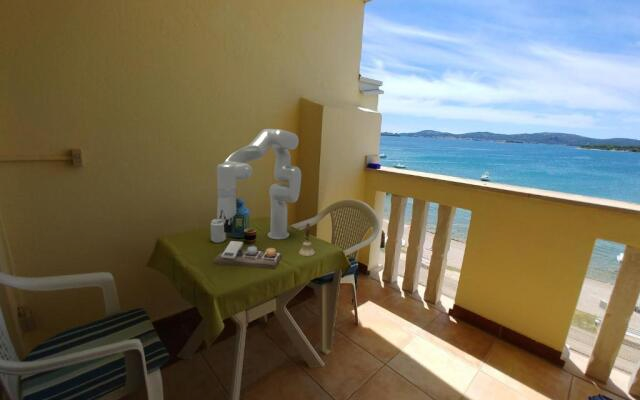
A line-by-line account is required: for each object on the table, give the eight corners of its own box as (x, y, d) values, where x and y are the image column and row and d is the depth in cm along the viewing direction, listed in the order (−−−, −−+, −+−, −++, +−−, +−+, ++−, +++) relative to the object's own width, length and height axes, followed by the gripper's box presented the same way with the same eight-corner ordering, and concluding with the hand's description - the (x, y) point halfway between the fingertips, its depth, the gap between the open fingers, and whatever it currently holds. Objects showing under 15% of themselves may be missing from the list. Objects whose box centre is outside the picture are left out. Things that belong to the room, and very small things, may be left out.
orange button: (267, 252, 126) (267, 247, 125) (276, 252, 125) (276, 248, 125) (264, 256, 121) (264, 251, 121) (274, 256, 121) (274, 252, 120)
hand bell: (295, 253, 135) (296, 223, 131) (305, 248, 142) (306, 220, 138) (308, 257, 130) (309, 227, 127) (317, 252, 137) (319, 223, 134)
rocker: (231, 242, 130) (231, 240, 129) (243, 244, 129) (242, 241, 129) (221, 257, 120) (221, 255, 120) (234, 258, 120) (234, 256, 119)
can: (220, 244, 140) (220, 223, 138) (208, 242, 142) (207, 221, 139) (228, 239, 148) (227, 218, 145) (216, 237, 149) (215, 217, 146)
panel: (226, 251, 132) (226, 242, 131) (281, 256, 130) (281, 247, 129) (214, 263, 120) (213, 253, 118) (274, 268, 118) (274, 259, 116)
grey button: (249, 250, 126) (249, 245, 126) (258, 251, 126) (258, 246, 125) (245, 254, 122) (245, 249, 121) (255, 255, 122) (255, 250, 121)
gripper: (226, 188, 121) (227, 226, 125) (210, 195, 107) (212, 237, 111) (242, 189, 120) (242, 227, 125) (228, 196, 106) (229, 239, 110)
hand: (228, 232), depth 118 cm, fingers closed
